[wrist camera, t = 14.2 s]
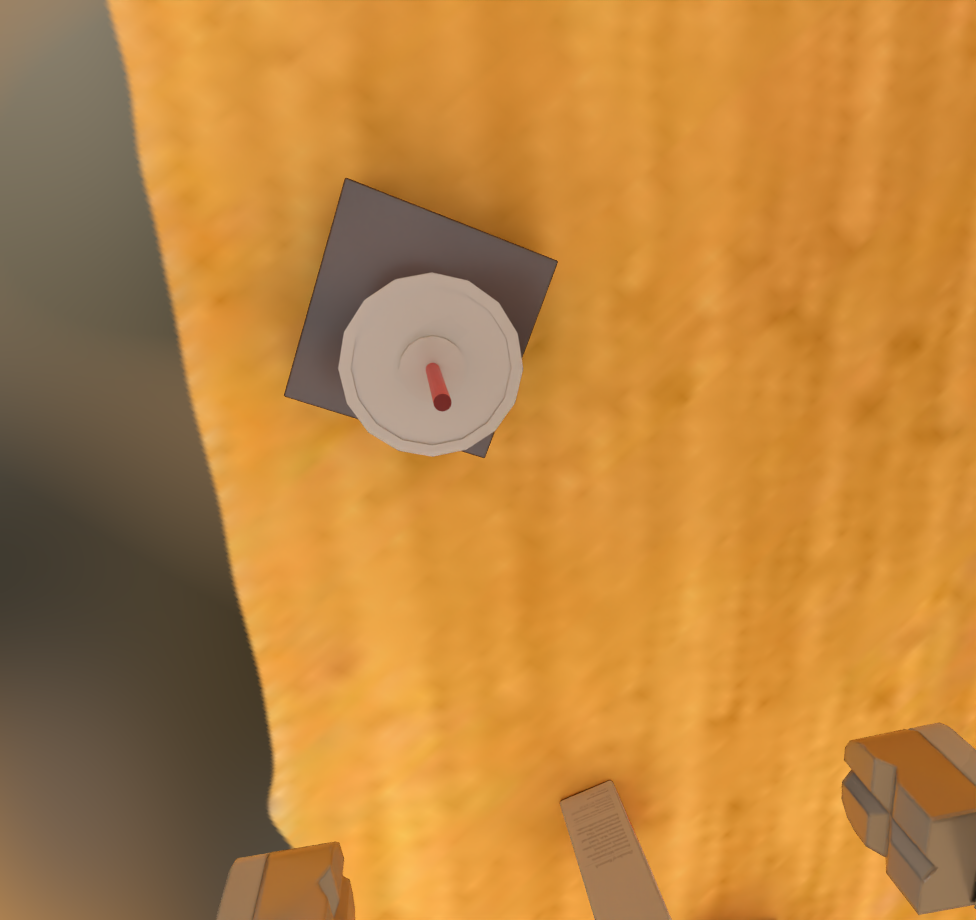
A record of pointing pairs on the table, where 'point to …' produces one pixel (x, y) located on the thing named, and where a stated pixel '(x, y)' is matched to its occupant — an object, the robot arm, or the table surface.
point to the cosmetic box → (611, 857)
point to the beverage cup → (430, 364)
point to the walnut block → (397, 254)
